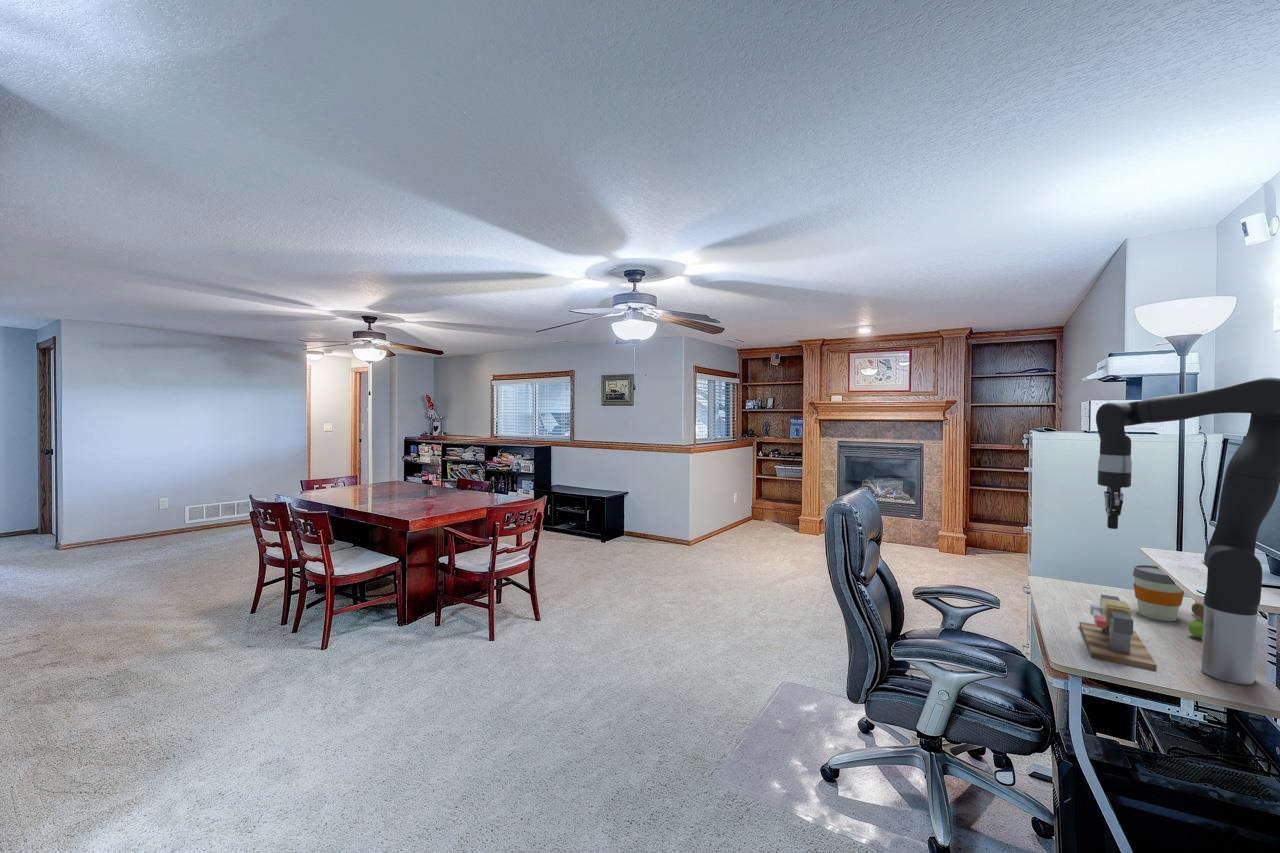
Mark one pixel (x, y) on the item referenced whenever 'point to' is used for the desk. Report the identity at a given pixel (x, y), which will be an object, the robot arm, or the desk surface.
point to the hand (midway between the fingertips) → (1112, 528)
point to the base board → (1101, 651)
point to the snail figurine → (1197, 625)
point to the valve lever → (1098, 615)
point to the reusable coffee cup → (1156, 593)
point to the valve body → (1117, 623)
